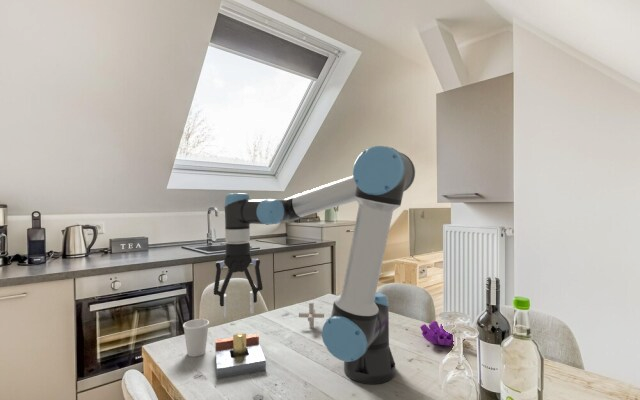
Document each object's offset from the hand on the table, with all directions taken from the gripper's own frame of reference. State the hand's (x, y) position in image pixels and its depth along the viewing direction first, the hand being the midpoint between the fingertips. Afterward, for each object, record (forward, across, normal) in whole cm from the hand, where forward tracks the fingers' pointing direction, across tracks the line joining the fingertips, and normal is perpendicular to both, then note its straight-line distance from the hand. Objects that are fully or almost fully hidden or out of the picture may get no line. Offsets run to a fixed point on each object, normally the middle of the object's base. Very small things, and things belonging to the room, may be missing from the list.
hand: (238, 314), depth 105 cm
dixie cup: (+15, +13, -12) cm, 23 cm away
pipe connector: (+15, -30, -19) cm, 39 cm away
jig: (+15, 0, 0) cm, 15 cm away
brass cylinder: (+15, 0, 0) cm, 15 cm away
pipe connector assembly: (+15, -68, +11) cm, 70 cm away
